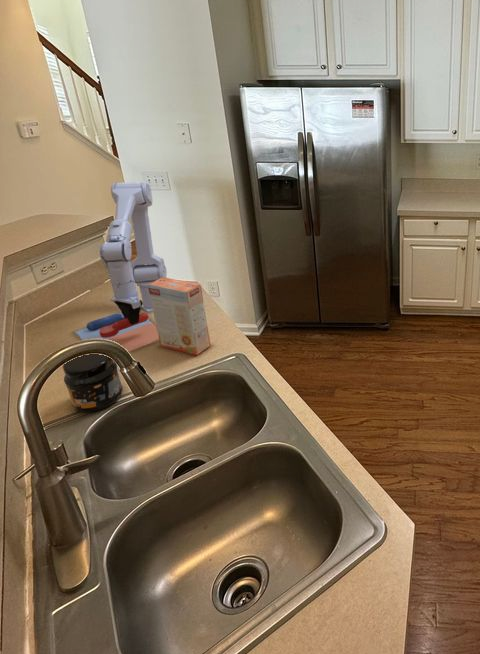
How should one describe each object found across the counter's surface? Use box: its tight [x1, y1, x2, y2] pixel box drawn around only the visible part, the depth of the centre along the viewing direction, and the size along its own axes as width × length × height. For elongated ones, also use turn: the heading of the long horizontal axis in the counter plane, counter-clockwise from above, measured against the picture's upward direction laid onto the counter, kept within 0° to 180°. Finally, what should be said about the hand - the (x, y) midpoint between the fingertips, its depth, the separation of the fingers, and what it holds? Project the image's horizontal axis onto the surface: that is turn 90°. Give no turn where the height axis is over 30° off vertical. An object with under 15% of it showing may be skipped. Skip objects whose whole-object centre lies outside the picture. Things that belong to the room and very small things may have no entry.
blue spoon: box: [85, 311, 125, 330], centre depth 139 cm, size 13×5×3 cm, turn 141°
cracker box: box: [148, 277, 211, 356], centre depth 126 cm, size 14×6×21 cm, turn 71°
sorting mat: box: [74, 318, 159, 353], centre depth 134 cm, size 18×24×1 cm
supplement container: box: [62, 354, 124, 413], centre depth 105 cm, size 10×10×12 cm
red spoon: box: [99, 312, 149, 338], centre depth 128 cm, size 13×5×3 cm, turn 141°
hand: (132, 321), depth 130 cm, fingers closed on red spoon, 3 cm apart
